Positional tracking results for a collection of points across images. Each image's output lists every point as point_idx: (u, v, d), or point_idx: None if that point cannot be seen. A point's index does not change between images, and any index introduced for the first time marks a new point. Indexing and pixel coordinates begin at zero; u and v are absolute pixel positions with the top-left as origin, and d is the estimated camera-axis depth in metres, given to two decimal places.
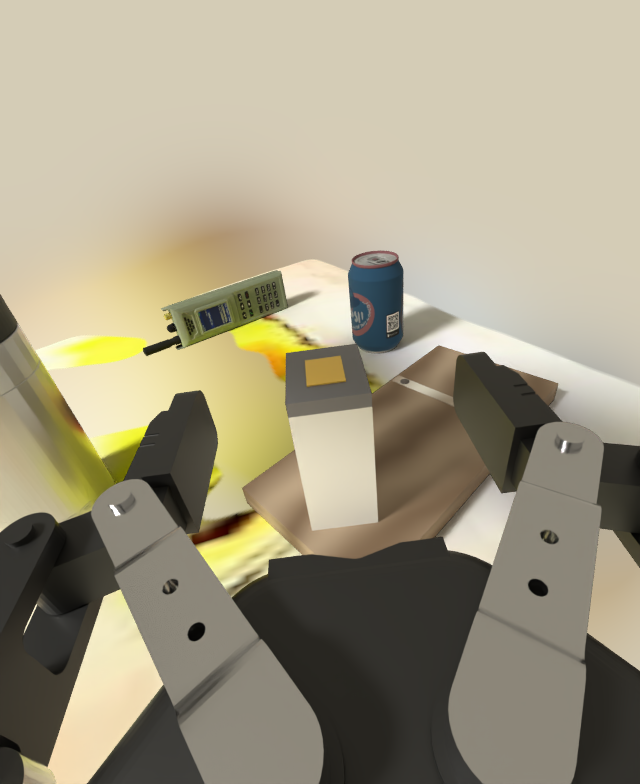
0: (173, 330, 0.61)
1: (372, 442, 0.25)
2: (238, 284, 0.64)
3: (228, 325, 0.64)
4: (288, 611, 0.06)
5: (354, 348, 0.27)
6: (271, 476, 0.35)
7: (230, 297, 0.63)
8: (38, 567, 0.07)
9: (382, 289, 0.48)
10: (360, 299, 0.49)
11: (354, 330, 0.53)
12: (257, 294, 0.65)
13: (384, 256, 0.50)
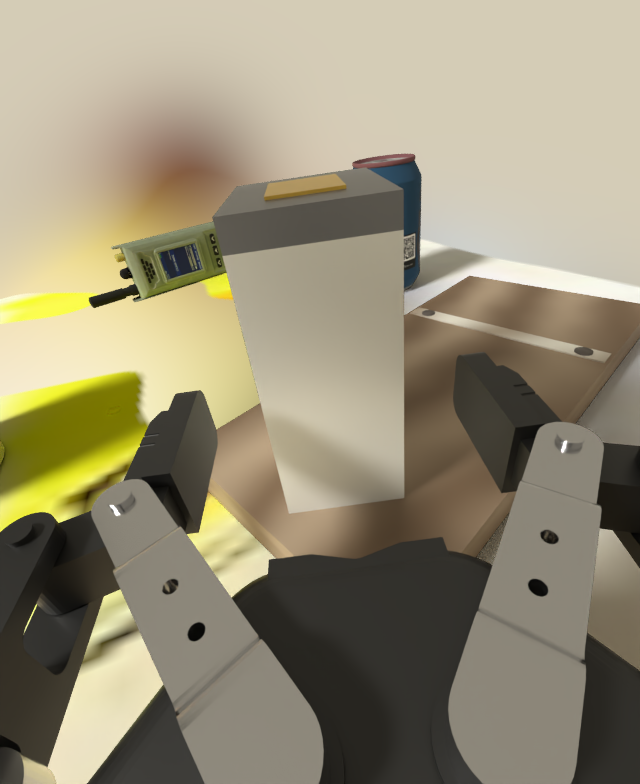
0: (127, 276, 0.48)
1: (400, 325, 0.12)
2: (210, 222, 0.52)
3: (198, 274, 0.52)
4: (288, 611, 0.06)
5: (361, 170, 0.15)
6: (230, 433, 0.22)
7: (200, 237, 0.51)
8: (37, 567, 0.07)
9: None
10: None
11: None
12: None
13: None
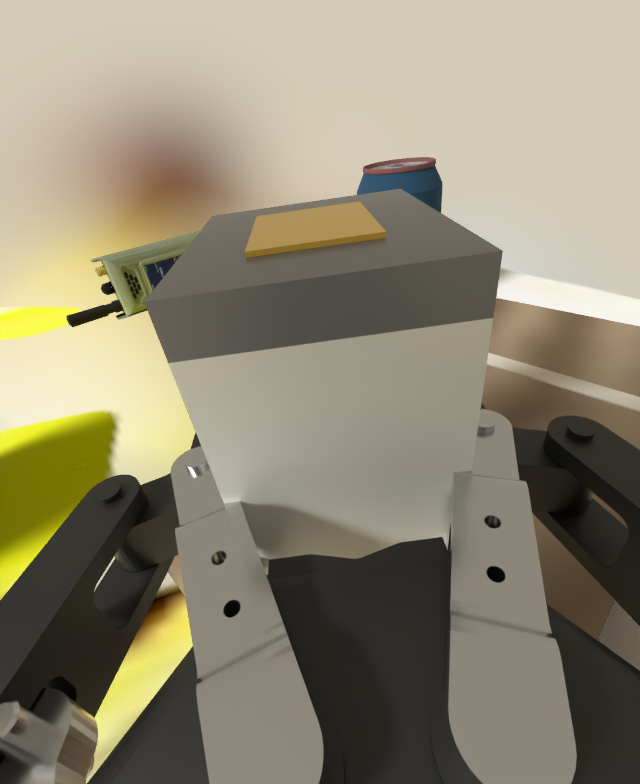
0: (110, 291, 0.44)
1: (469, 454, 0.08)
2: None
3: None
4: (288, 611, 0.06)
5: (396, 193, 0.10)
6: None
7: None
8: (117, 529, 0.08)
9: None
10: None
11: None
12: None
13: (412, 164, 0.33)
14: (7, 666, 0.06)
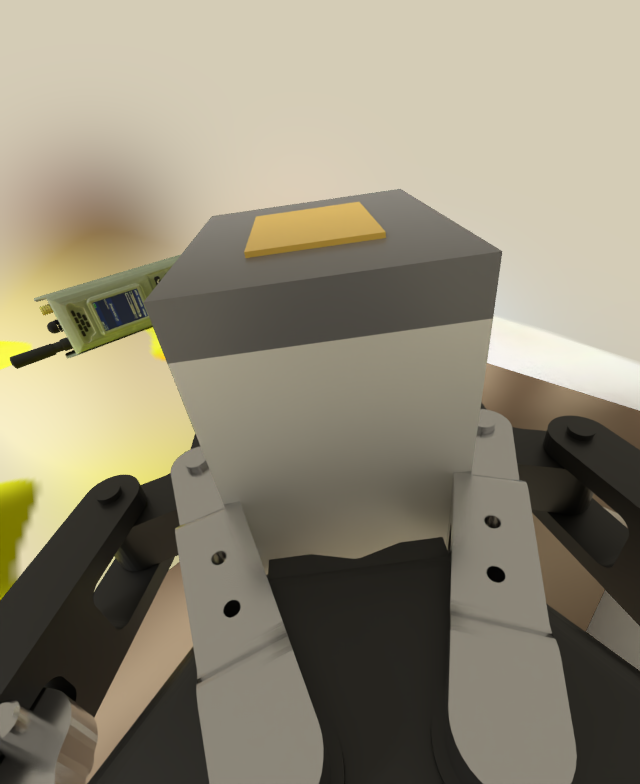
0: (57, 330, 0.42)
1: (468, 455, 0.08)
2: (155, 263, 0.46)
3: (143, 322, 0.46)
4: (288, 611, 0.06)
5: (396, 194, 0.10)
6: None
7: (143, 281, 0.44)
8: (117, 528, 0.08)
9: None
10: None
11: None
12: None
13: None
14: (7, 666, 0.06)
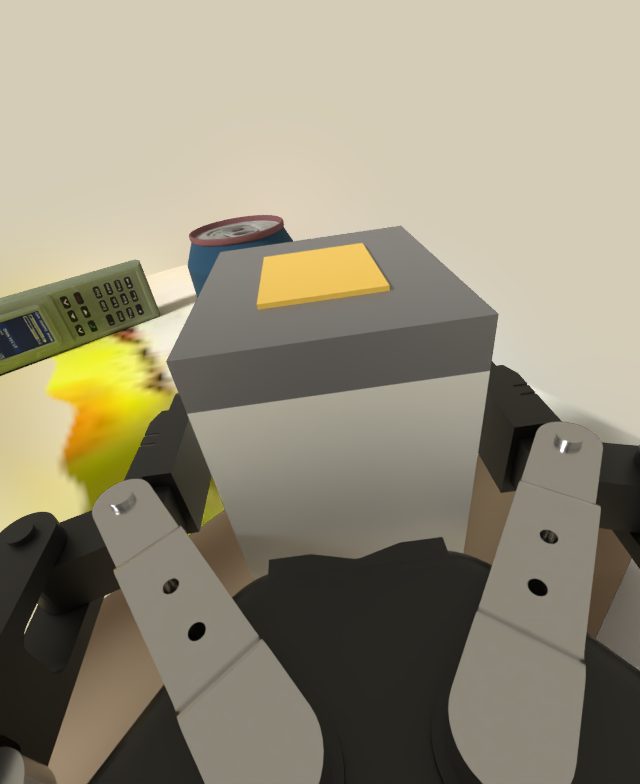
0: None
1: (467, 489, 0.08)
2: (62, 281, 0.40)
3: (50, 348, 0.40)
4: (288, 611, 0.06)
5: (397, 232, 0.10)
6: None
7: (45, 302, 0.39)
8: (39, 567, 0.07)
9: None
10: None
11: None
12: (99, 296, 0.42)
13: (261, 225, 0.25)
14: None
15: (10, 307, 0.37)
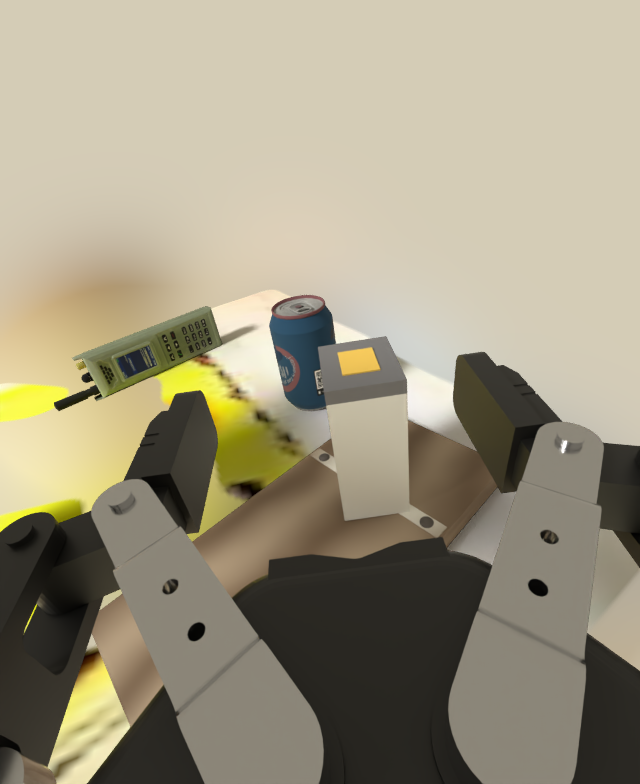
0: (89, 380, 0.55)
1: (406, 429, 0.26)
2: (162, 324, 0.59)
3: (154, 370, 0.59)
4: (288, 611, 0.06)
5: (384, 340, 0.28)
6: None
7: (153, 339, 0.57)
8: (38, 568, 0.07)
9: (305, 343, 0.41)
10: (282, 353, 0.42)
11: (283, 385, 0.46)
12: (185, 333, 0.60)
13: (311, 302, 0.43)
14: None
15: (133, 343, 0.56)
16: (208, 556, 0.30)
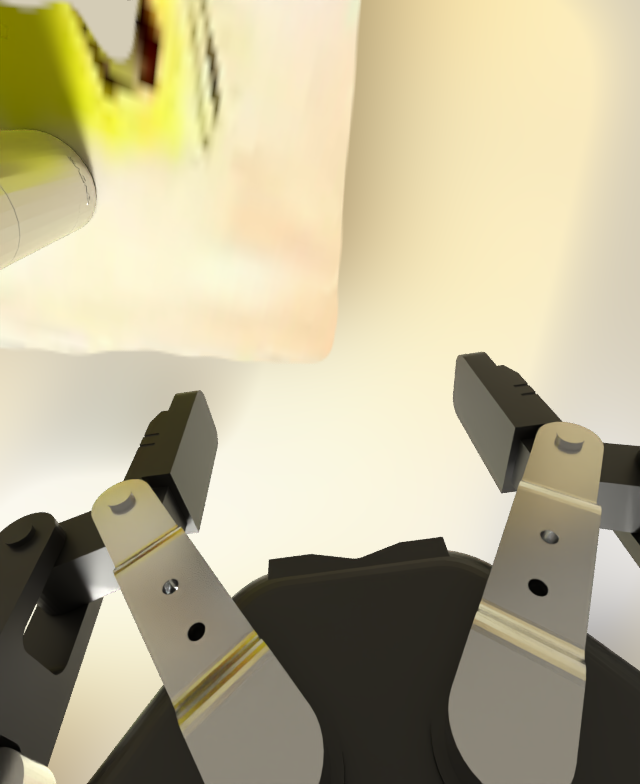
0: None
1: None
2: None
3: None
4: (288, 611, 0.06)
5: None
6: None
7: None
8: (38, 567, 0.07)
9: None
10: None
11: None
12: None
13: None
14: None
15: None
16: None
